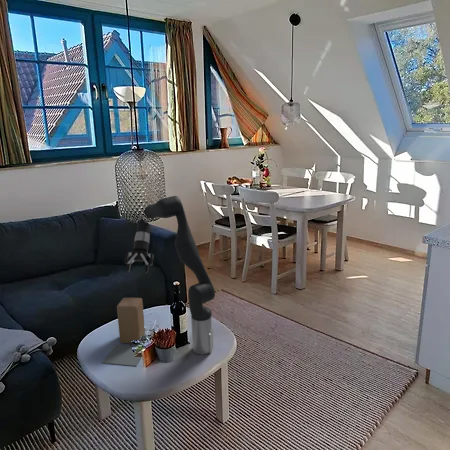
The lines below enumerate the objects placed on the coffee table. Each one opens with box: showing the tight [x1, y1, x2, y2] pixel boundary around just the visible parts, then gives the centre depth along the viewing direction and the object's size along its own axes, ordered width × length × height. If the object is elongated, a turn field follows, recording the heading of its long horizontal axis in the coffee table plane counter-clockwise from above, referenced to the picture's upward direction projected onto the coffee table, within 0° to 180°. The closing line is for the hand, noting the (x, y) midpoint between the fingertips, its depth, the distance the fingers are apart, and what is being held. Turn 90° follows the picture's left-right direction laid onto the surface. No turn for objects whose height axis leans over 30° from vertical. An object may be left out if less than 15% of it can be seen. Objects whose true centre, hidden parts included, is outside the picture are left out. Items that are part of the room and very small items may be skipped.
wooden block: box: [116, 297, 146, 344], centre depth 193 cm, size 10×10×20 cm
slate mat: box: [101, 344, 142, 367], centre depth 183 cm, size 16×14×1 cm
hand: (137, 272), depth 199 cm, fingers open, 8 cm apart
